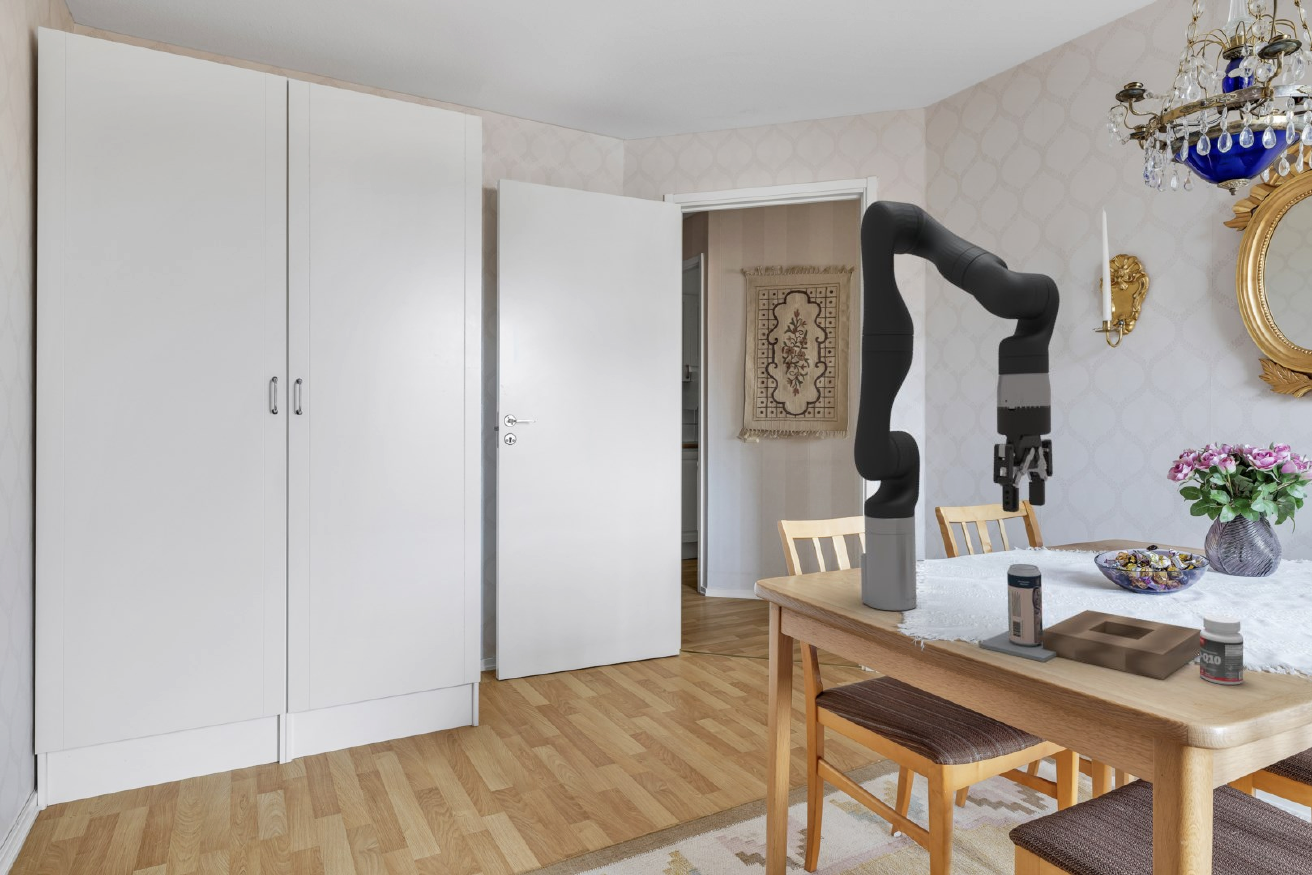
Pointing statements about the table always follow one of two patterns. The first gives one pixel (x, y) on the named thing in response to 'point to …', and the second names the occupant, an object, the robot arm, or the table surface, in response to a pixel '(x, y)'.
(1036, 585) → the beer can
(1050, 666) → the table surface
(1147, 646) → the block
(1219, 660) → the pill bottle
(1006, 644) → the mat
